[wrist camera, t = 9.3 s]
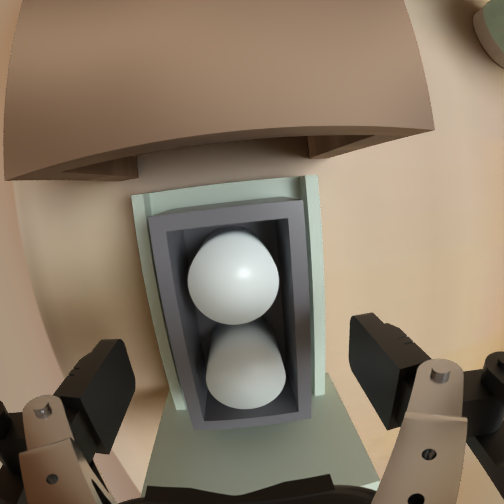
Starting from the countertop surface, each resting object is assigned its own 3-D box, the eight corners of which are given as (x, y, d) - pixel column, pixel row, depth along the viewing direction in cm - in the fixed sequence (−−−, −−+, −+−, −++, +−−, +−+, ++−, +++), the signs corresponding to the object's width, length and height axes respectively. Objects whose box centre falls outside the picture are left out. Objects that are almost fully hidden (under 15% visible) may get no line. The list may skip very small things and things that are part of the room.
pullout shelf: (130, 196, 16) (26, 210, 7) (320, 175, 16) (416, 165, 7) (173, 402, 19) (147, 515, 9) (327, 386, 19) (375, 493, 10)
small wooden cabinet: (118, -6, 13) (62, -95, 4) (298, -27, 14) (335, -127, 4) (119, 181, 16) (4, 180, 6) (330, 157, 17) (434, 130, 7)
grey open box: (171, 208, 15) (148, 217, 11) (283, 196, 15) (303, 199, 11) (201, 379, 17) (194, 430, 13) (295, 369, 17) (311, 418, 13)
